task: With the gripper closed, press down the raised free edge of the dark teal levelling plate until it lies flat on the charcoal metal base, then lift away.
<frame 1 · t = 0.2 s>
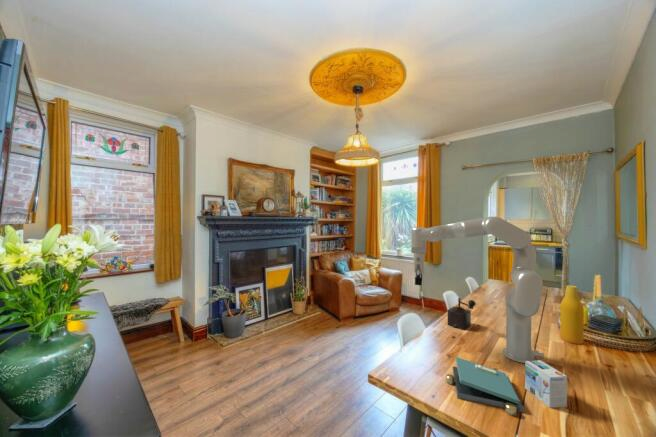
hand: (418, 282, 139), 31 cm above the table, tool pointing down, fingers open, 9 cm apart
pepper mill: (463, 327, 158), on the table
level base: (483, 389, 100), on the table
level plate: (484, 376, 100), point 5 cm above the table, hinge at 10.0°
light bulb box: (545, 397, 96), on the table
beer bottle: (571, 340, 140), on the table
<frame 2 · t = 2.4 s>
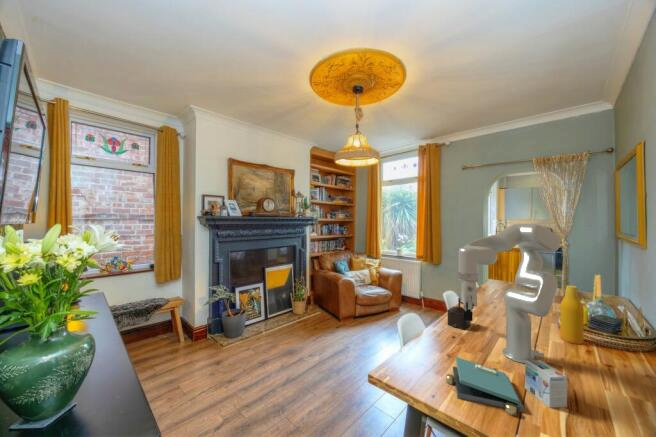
hand: (467, 319, 111), 22 cm above the table, tool pointing down, fingers closed
nothing on the table moved.
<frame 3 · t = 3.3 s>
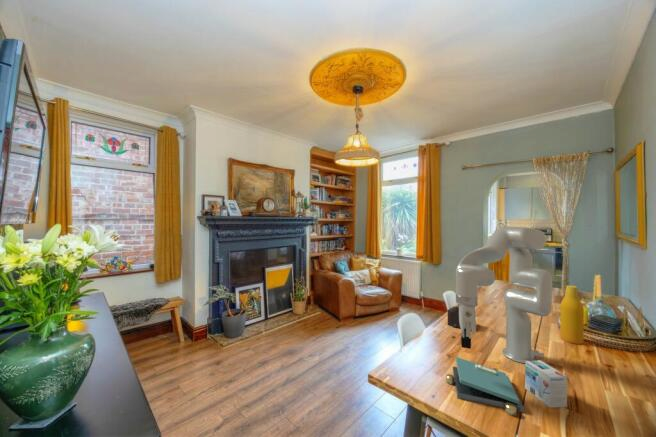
hand: (466, 347, 102), 15 cm above the table, tool pointing down, fingers closed
nothing on the table moved.
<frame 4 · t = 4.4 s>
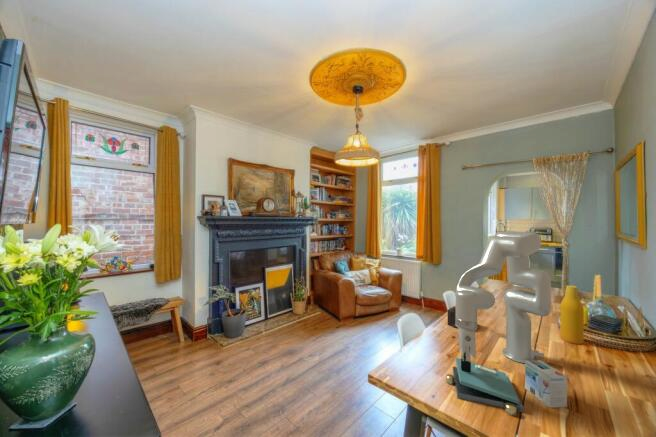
hand: (465, 370, 102), 6 cm above the table, tool pointing down, fingers closed
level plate: (484, 376, 100), point 5 cm above the table, hinge at 9.1°, touching gripper
everything else where it was.
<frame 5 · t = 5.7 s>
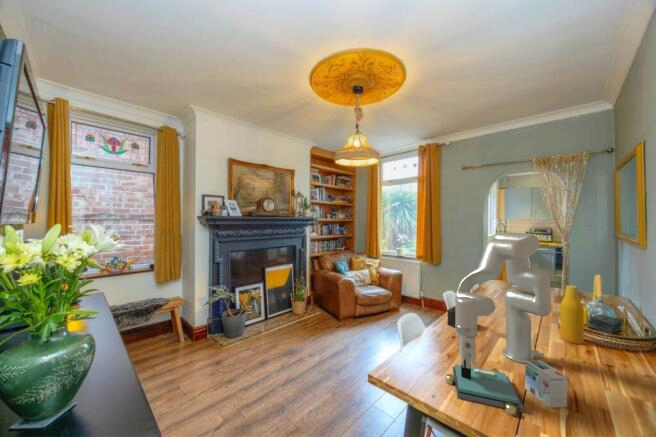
hand: (466, 376, 102), 4 cm above the table, tool pointing down, fingers closed
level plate: (483, 380, 100), point 4 cm above the table, hinge at 0.2°
everything else where it was.
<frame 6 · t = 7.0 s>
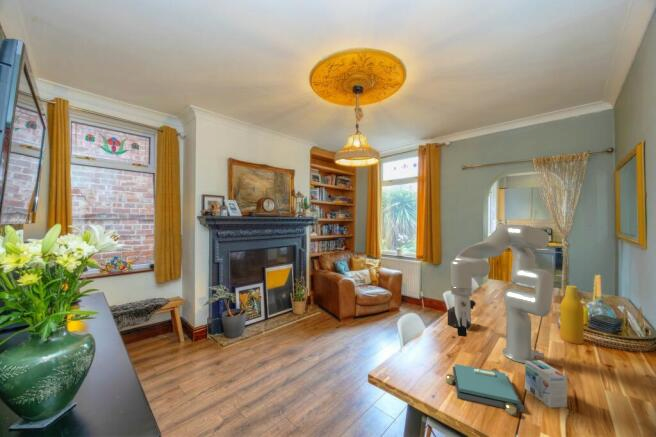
hand: (462, 335, 107), 17 cm above the table, tool pointing down, fingers closed
nothing on the table moved.
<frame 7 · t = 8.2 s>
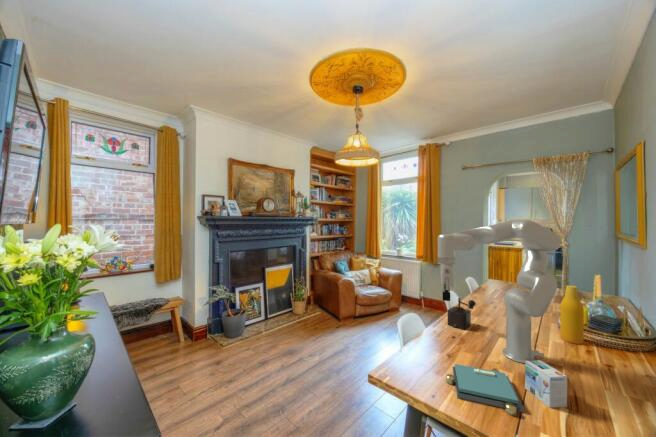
hand: (446, 300, 122), 27 cm above the table, tool pointing down, fingers closed
nothing on the table moved.
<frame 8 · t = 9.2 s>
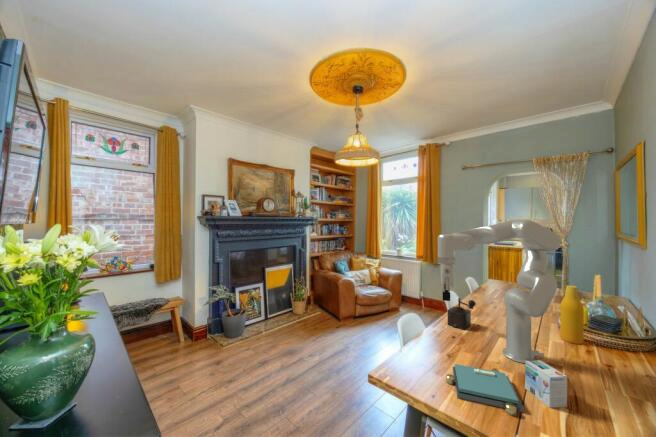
hand: (446, 300, 122), 27 cm above the table, tool pointing down, fingers closed
nothing on the table moved.
at the end: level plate at +0° (first picture: +10°); light bulb box moved 0.3 cm from its start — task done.
